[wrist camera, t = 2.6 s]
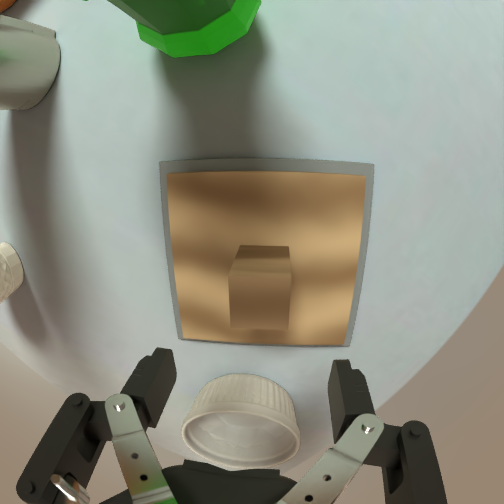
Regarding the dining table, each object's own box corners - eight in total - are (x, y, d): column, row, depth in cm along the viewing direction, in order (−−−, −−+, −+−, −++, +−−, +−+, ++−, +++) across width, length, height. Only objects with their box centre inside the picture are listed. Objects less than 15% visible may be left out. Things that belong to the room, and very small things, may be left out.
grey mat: (161, 161, 24) (159, 162, 23) (372, 163, 22) (374, 164, 22) (179, 336, 30) (178, 338, 29) (349, 342, 28) (349, 345, 28)
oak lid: (170, 172, 24) (132, 183, 17) (362, 175, 22) (393, 187, 16) (186, 332, 29) (164, 377, 23) (342, 338, 28) (354, 387, 21)
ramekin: (314, 416, 33) (316, 459, 27) (227, 436, 36) (220, 474, 30) (271, 349, 30) (268, 398, 23) (174, 378, 33) (156, 420, 26)
